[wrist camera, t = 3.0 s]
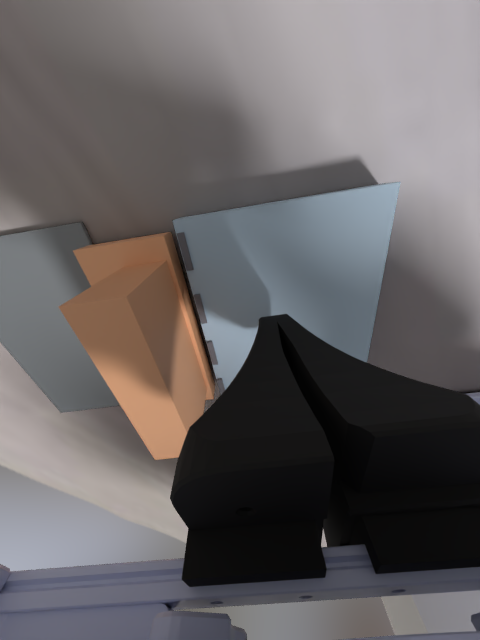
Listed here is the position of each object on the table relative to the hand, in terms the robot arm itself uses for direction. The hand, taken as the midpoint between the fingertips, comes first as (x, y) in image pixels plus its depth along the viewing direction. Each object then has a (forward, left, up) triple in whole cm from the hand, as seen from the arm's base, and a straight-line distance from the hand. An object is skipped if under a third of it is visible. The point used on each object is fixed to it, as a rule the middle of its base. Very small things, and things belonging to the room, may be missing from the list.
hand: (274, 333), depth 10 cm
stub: (+6, 0, -2) cm, 7 cm away
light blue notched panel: (-1, 0, -2) cm, 3 cm away
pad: (+12, 0, -2) cm, 12 cm away
